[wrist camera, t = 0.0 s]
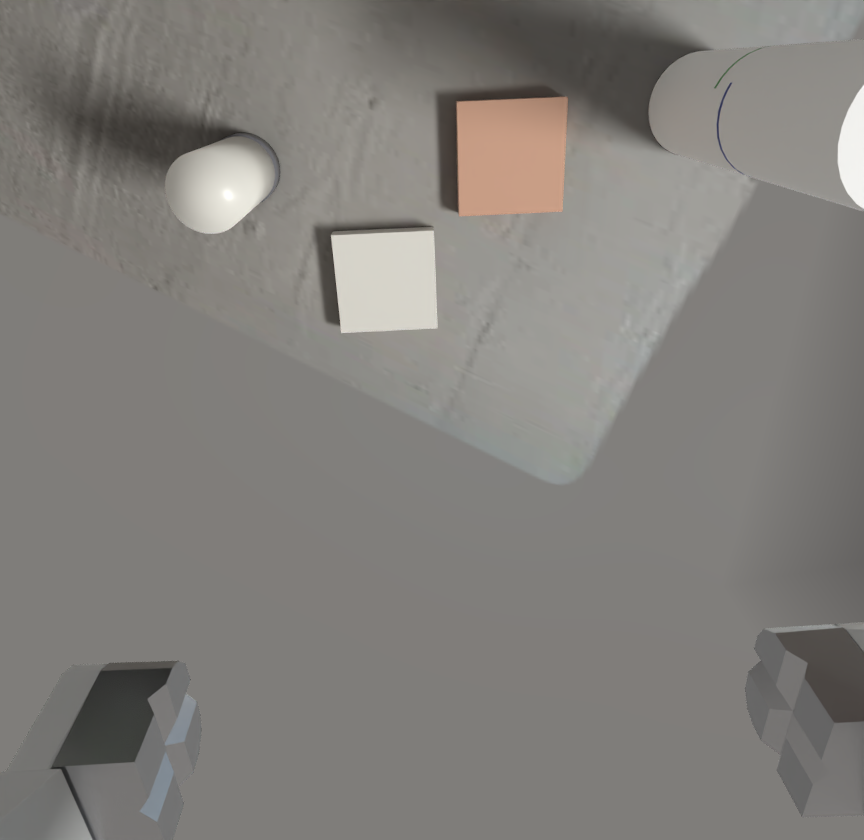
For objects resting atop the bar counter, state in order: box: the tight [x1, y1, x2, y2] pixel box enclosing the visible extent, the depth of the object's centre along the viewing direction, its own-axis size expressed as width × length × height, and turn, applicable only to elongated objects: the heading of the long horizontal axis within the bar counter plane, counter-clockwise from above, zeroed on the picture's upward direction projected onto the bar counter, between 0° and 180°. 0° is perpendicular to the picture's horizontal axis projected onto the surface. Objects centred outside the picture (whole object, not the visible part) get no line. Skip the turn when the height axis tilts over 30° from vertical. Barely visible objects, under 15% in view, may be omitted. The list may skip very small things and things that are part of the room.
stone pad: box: [331, 227, 437, 333], centre depth 55 cm, size 8×8×2 cm
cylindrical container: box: [648, 39, 864, 211], centre depth 39 cm, size 7×7×25 cm
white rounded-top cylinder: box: [165, 133, 280, 234], centre depth 46 cm, size 5×5×12 cm
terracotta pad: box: [456, 96, 568, 216], centre depth 51 cm, size 8×8×2 cm
